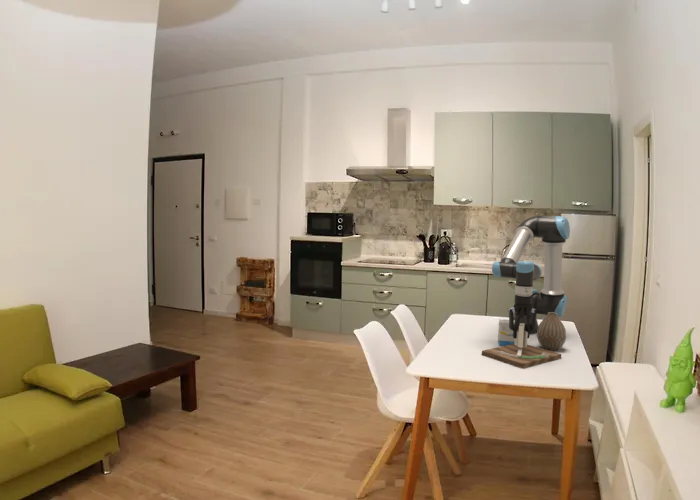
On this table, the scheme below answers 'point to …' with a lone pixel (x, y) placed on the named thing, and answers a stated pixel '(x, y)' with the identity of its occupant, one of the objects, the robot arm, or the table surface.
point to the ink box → (505, 333)
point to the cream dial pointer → (520, 339)
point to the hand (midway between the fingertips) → (520, 345)
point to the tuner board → (528, 355)
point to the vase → (551, 332)
